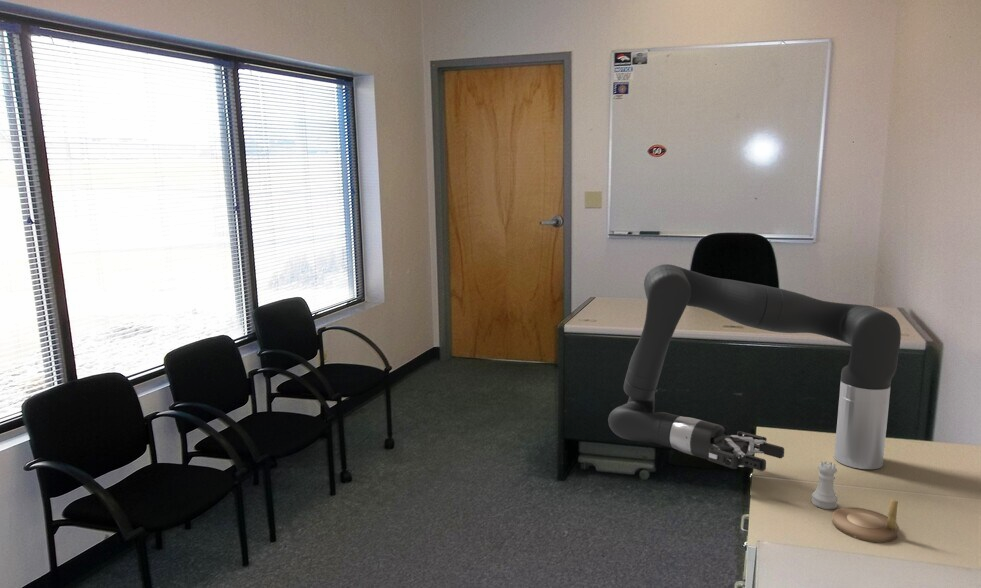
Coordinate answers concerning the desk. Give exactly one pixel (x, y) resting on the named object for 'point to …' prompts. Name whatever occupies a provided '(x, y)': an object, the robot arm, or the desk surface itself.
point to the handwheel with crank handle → (867, 523)
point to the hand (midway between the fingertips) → (774, 459)
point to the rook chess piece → (825, 487)
